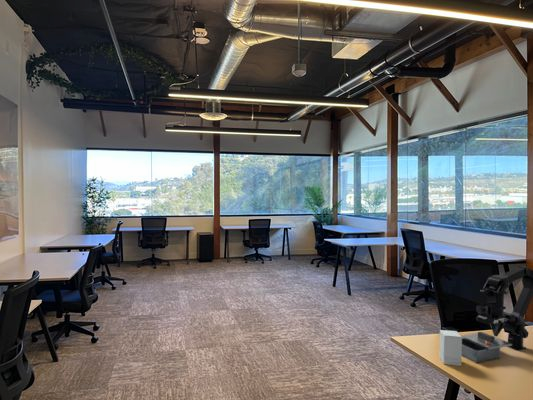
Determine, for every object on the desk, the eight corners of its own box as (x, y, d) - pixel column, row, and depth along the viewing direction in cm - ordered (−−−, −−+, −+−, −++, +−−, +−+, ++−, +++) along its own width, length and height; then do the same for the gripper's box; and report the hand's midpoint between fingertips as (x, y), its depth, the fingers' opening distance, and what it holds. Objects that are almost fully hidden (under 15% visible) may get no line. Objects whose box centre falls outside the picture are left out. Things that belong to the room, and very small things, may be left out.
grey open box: (472, 346, 178) (472, 336, 178) (499, 358, 165) (499, 347, 165) (450, 350, 173) (450, 339, 173) (476, 363, 160) (477, 351, 160)
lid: (483, 333, 181) (483, 327, 181) (512, 345, 167) (512, 338, 167) (461, 337, 176) (461, 330, 176) (488, 349, 162) (489, 342, 162)
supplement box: (461, 366, 157) (462, 337, 157) (443, 364, 158) (443, 335, 158) (456, 358, 164) (457, 330, 164) (438, 357, 166) (439, 329, 165)
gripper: (494, 297, 184) (494, 328, 184) (467, 300, 178) (466, 332, 178) (516, 303, 174) (515, 336, 174) (488, 306, 167) (487, 340, 167)
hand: (495, 336), depth 173 cm, fingers closed
